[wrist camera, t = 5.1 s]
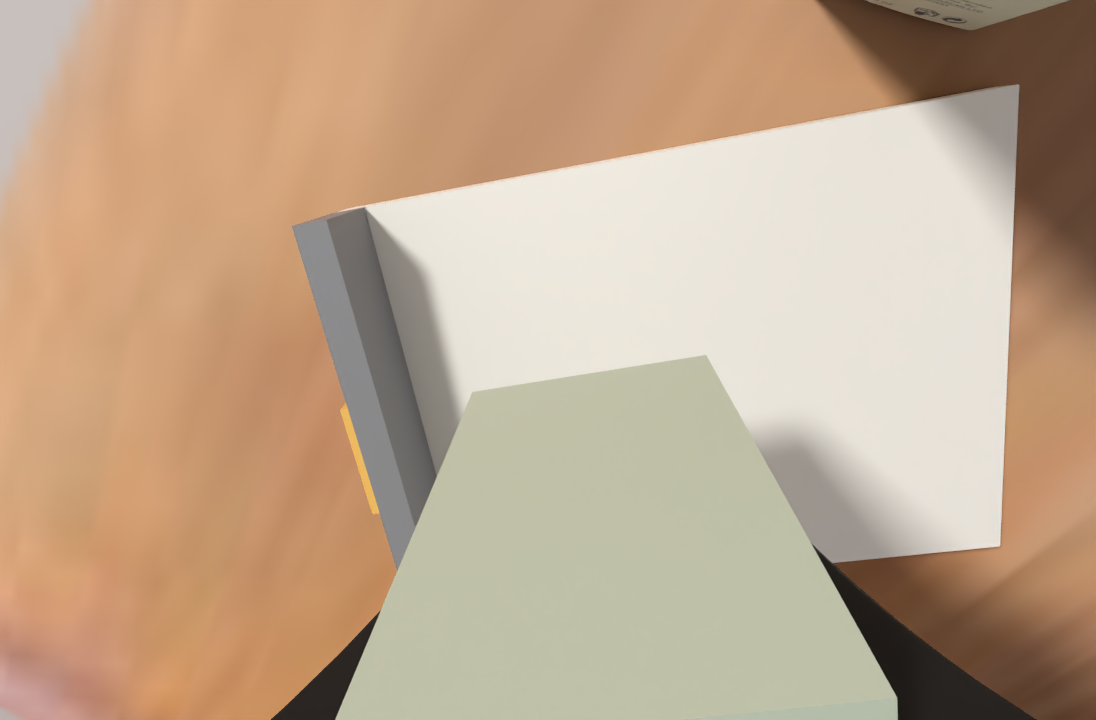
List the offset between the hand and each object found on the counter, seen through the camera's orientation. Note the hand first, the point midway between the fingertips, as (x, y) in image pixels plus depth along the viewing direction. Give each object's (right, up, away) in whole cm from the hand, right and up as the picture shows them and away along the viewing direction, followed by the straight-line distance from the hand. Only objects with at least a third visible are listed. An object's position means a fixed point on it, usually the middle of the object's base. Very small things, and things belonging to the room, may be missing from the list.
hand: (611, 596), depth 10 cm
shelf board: (+3, +3, +8) cm, 9 cm away
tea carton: (0, +1, +2) cm, 2 cm away
